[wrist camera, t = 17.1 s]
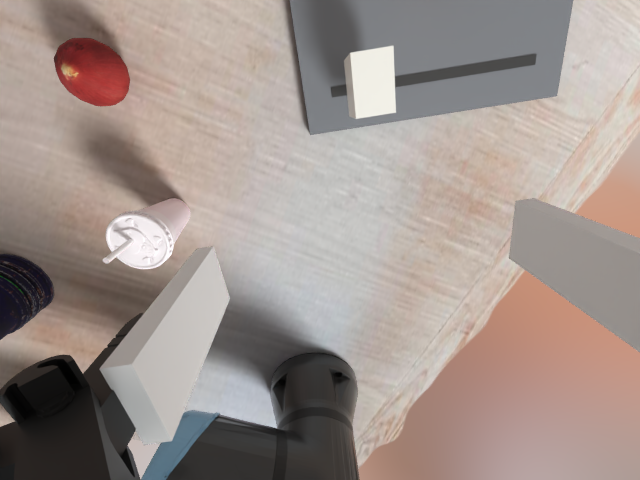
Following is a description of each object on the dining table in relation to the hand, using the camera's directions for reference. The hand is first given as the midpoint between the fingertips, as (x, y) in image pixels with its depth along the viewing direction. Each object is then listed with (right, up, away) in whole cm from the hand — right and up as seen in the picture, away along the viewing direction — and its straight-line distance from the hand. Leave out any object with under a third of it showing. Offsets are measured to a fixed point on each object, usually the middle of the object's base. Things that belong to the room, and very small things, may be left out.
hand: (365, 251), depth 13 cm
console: (+9, +23, +18) cm, 31 cm away
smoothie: (-21, +4, +26) cm, 34 cm away
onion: (-24, +19, +20) cm, 36 cm away
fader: (+2, +17, +19) cm, 26 cm away
